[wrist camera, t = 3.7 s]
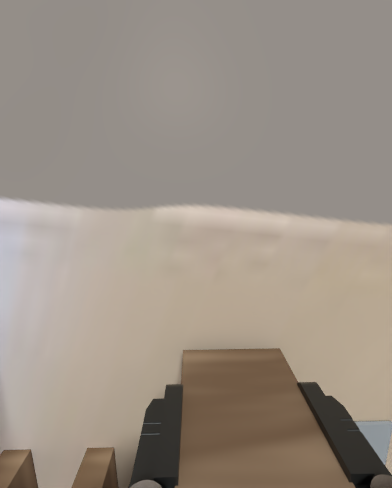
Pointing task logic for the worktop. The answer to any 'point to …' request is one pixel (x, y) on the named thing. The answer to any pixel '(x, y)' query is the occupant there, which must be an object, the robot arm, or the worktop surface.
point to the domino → (250, 425)
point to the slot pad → (377, 436)
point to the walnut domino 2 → (97, 469)
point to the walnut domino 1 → (17, 469)
